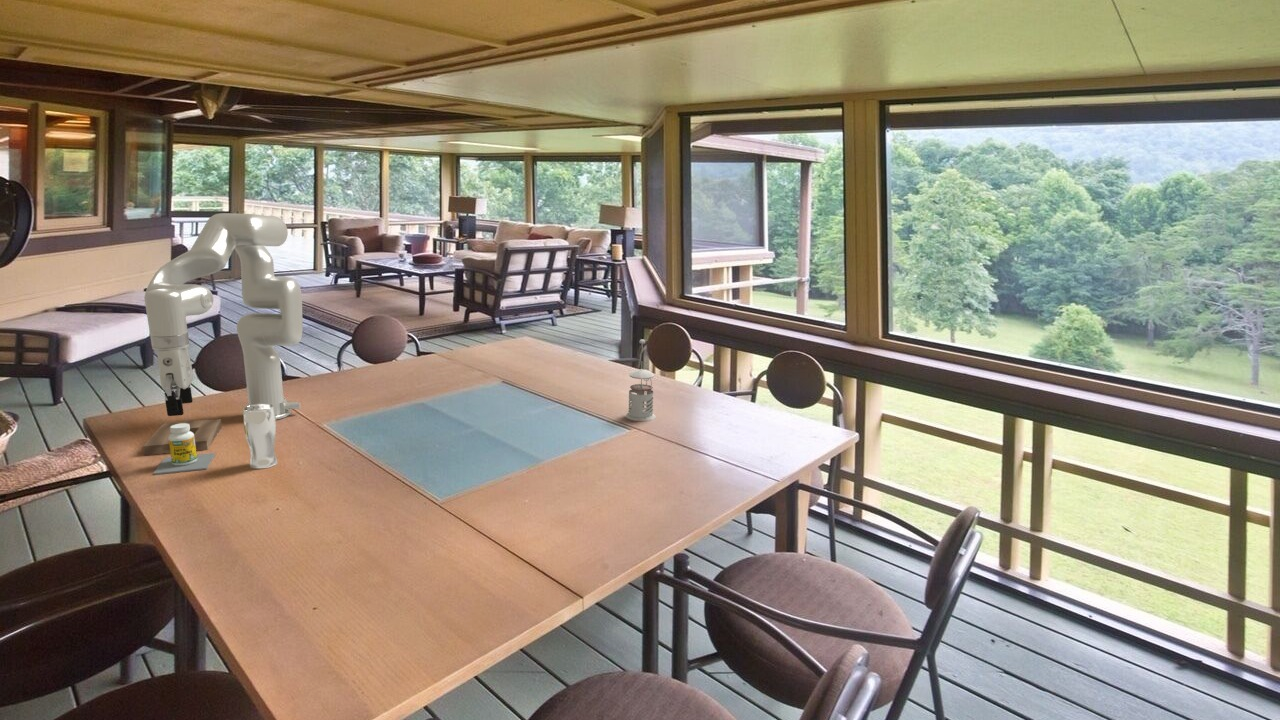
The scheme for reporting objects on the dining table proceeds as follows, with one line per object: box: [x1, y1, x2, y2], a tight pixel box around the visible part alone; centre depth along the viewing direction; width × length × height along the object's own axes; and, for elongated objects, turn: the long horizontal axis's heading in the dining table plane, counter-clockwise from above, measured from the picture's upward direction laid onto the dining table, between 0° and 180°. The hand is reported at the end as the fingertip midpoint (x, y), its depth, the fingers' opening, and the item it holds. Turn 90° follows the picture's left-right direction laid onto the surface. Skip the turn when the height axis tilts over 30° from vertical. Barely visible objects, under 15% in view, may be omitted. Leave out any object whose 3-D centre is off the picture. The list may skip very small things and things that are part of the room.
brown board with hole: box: [143, 418, 222, 456], centre depth 189 cm, size 14×20×2 cm
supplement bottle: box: [168, 423, 198, 466], centre depth 171 cm, size 5×5×10 cm
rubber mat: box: [152, 452, 216, 476], centre depth 172 cm, size 11×11×1 cm
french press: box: [625, 338, 657, 422], centre depth 219 cm, size 10×12×25 cm
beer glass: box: [242, 403, 278, 470], centre depth 172 cm, size 7×7×15 cm
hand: (180, 409), depth 170 cm, fingers open, 9 cm apart
